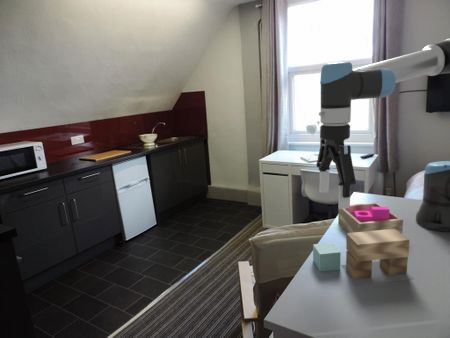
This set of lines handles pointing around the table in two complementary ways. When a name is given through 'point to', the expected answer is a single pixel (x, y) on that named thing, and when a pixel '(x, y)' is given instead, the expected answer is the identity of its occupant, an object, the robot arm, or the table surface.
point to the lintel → (377, 245)
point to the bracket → (372, 214)
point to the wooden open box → (355, 225)
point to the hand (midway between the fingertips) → (333, 199)
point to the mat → (378, 275)
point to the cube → (326, 256)
